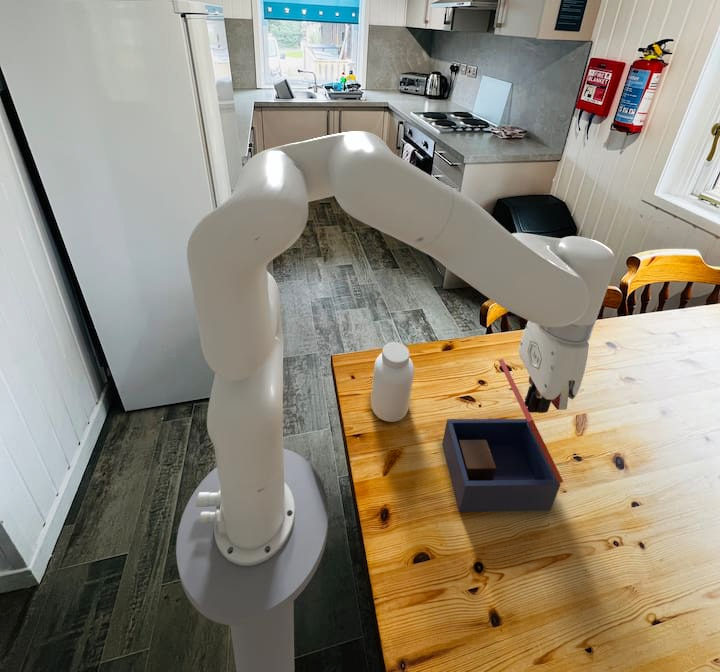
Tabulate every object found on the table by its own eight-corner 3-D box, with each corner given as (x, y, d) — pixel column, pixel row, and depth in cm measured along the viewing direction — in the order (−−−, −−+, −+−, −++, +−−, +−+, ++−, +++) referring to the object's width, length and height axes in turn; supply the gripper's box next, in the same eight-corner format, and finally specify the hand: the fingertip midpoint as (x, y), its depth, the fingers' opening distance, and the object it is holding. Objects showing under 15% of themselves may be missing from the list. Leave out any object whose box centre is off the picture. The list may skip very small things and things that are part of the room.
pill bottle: (381, 429, 77) (387, 372, 72) (364, 396, 84) (368, 342, 78) (415, 415, 81) (424, 360, 75) (396, 385, 87) (403, 332, 82)
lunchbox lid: (527, 422, 57) (533, 420, 57) (498, 360, 68) (502, 358, 68) (558, 483, 63) (563, 482, 63) (527, 417, 74) (531, 416, 74)
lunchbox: (458, 512, 65) (465, 486, 62) (442, 443, 75) (446, 418, 73) (550, 510, 66) (560, 484, 63) (520, 443, 76) (528, 418, 74)
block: (462, 487, 68) (467, 468, 66) (454, 458, 72) (458, 439, 70) (491, 487, 68) (496, 468, 66) (481, 458, 72) (486, 439, 71)
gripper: (517, 287, 64) (496, 371, 71) (566, 357, 50) (534, 454, 57) (562, 287, 65) (536, 371, 72) (622, 358, 51) (583, 453, 58)
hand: (535, 408), depth 64 cm, fingers closed
